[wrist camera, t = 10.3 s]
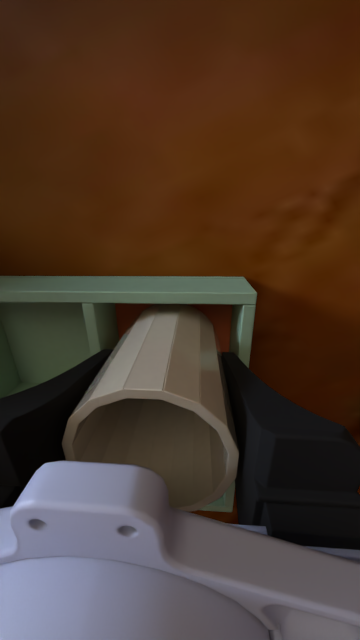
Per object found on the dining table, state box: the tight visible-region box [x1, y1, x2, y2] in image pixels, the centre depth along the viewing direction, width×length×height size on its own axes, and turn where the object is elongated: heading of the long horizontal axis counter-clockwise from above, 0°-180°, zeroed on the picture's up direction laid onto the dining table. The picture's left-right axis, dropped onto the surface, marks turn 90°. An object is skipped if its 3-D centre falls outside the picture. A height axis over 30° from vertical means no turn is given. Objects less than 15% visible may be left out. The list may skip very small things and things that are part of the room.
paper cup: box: [62, 304, 239, 512], centre depth 11 cm, size 6×6×8 cm
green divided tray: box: [0, 276, 257, 512], centre depth 16 cm, size 16×16×4 cm
